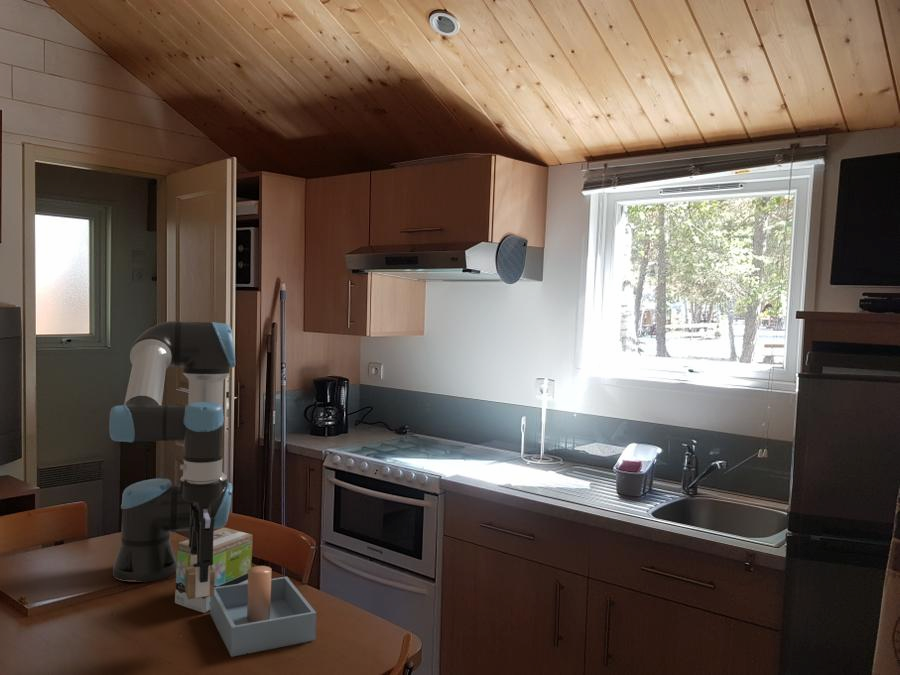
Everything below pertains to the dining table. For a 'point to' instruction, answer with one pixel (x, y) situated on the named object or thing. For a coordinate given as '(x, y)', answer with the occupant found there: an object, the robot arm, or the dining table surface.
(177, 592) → the tea box
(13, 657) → the dining table surface
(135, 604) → the dining table surface
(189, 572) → the block
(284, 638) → the tote
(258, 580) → the peach orange cylinder
